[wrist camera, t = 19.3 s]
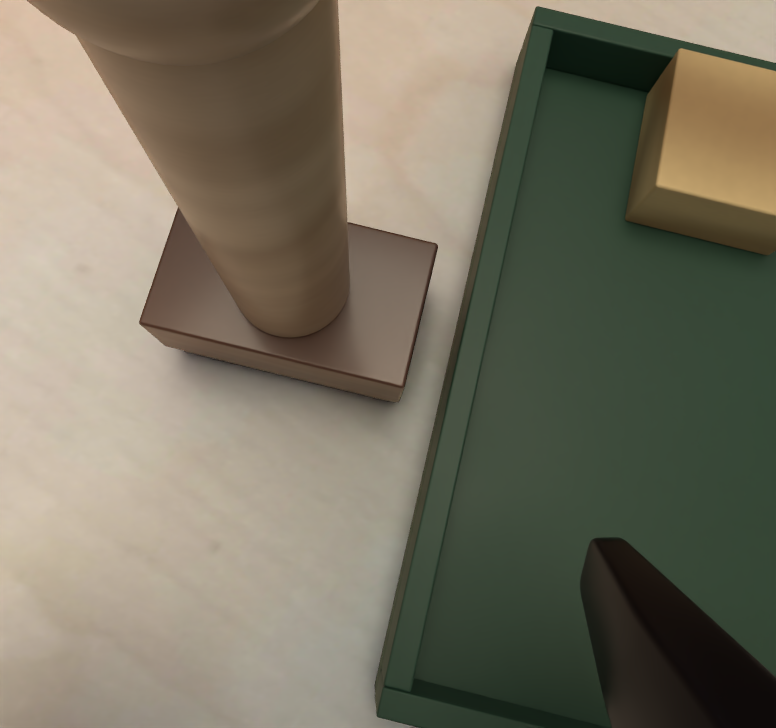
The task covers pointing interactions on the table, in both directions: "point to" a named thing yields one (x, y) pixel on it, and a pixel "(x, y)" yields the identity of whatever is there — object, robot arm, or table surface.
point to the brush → (257, 189)
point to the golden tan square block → (709, 153)
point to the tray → (584, 409)
